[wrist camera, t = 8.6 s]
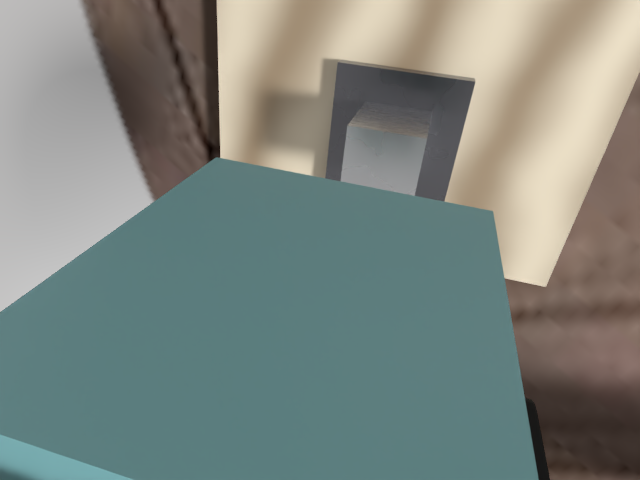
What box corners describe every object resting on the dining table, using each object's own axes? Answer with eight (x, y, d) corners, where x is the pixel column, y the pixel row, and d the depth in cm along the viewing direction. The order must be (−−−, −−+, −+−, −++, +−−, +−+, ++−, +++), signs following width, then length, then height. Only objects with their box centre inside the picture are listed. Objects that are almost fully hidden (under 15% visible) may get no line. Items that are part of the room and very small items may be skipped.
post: (473, 73, 25) (480, 103, 18) (443, 191, 28) (440, 250, 22) (347, 56, 26) (312, 78, 20) (333, 171, 30) (301, 221, 23)
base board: (657, -1, 21) (670, -1, 20) (541, 274, 29) (545, 286, 28) (227, -46, 25) (215, -48, 24) (230, 208, 33) (221, 217, 32)
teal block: (493, 210, 10) (563, 624, 3) (427, 408, 13) (401, 803, 7) (216, 157, 11) (-116, 395, 5) (221, 352, 14) (33, 645, 8)
